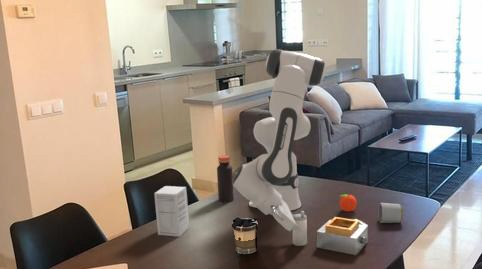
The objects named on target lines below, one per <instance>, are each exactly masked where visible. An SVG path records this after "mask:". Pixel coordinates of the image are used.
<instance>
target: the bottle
mask: <svg viewBox="0 0 482 269" xmlns="http://www.w3.org/2000/svg"><path fill="white" fill-rule="evenodd" d="M230 158H231V157H230V155H219V156H218V164H219V165H218V166H217V168H216V176H217V177H216V178H217V191H218V192H217V194H218V195H217V196H218V201H219V202H221V203H229V202H232V201H234V199H235V198H234V197H235V196H234V194H235V193H234V185H233V184H232V177H233V174H234V173H233V167H232V165H231V164H230V163H231V162H230V161H231V160H230Z"/></svg>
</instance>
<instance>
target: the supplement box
mask: <svg viewBox="0 0 482 269" xmlns="http://www.w3.org/2000/svg"><path fill="white" fill-rule="evenodd" d="M188 204H189V203H188V194H187V186H175V185H173V186H171V185H165V186H163V187H162V188H160V189H158V190H157V191H155V192H154V205H155V214H156V226H157V227H156V228H157V235H158V236H165V237H167V236H168V237H169V236H171V237H182V235H183V234H185V233H186V231H188V230H189V229H190V218H189V207H188Z"/></svg>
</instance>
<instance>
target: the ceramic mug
mask: <svg viewBox="0 0 482 269" xmlns="http://www.w3.org/2000/svg"><path fill="white" fill-rule="evenodd" d="M403 212H404V211H403V206H402V205H401V204H400V203H389V202H388V203H387V202H380V203H379V205H378V220H379V223H380V224H399V223H401V222H402V221H403V217H404V213H403Z"/></svg>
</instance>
